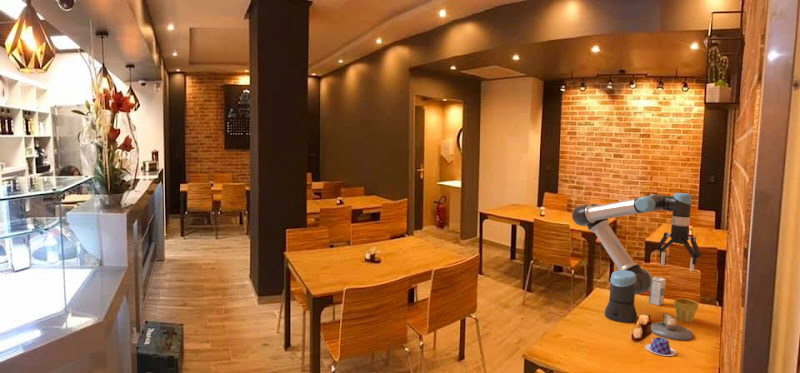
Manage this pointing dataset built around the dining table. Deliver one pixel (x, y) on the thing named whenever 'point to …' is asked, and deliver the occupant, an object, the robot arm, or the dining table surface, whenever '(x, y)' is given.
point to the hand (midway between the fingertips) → (676, 267)
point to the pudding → (660, 347)
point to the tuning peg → (669, 321)
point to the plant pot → (685, 309)
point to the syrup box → (657, 291)
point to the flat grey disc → (671, 332)
